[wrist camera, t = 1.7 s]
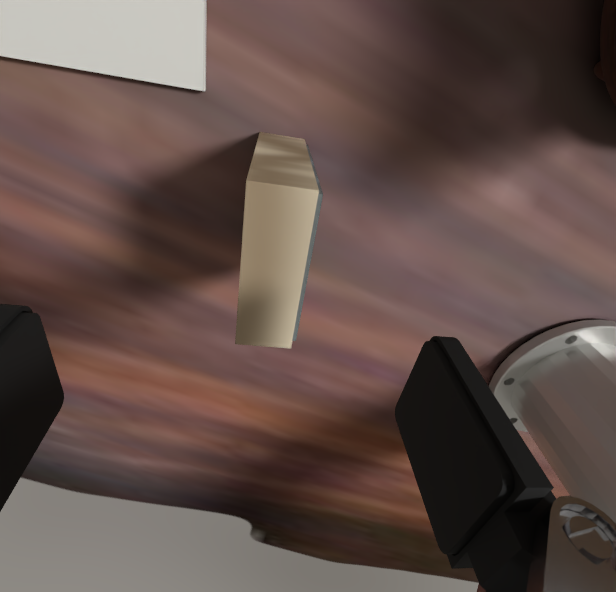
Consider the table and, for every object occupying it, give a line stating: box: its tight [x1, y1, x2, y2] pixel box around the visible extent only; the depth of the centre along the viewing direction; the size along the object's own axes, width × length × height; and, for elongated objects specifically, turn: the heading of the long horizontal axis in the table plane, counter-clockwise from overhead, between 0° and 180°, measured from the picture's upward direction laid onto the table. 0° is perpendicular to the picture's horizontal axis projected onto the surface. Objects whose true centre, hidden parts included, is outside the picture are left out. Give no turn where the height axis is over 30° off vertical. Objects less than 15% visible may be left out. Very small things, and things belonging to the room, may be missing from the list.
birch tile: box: [235, 132, 323, 348], centre depth 17 cm, size 3×7×9 cm, turn 171°
